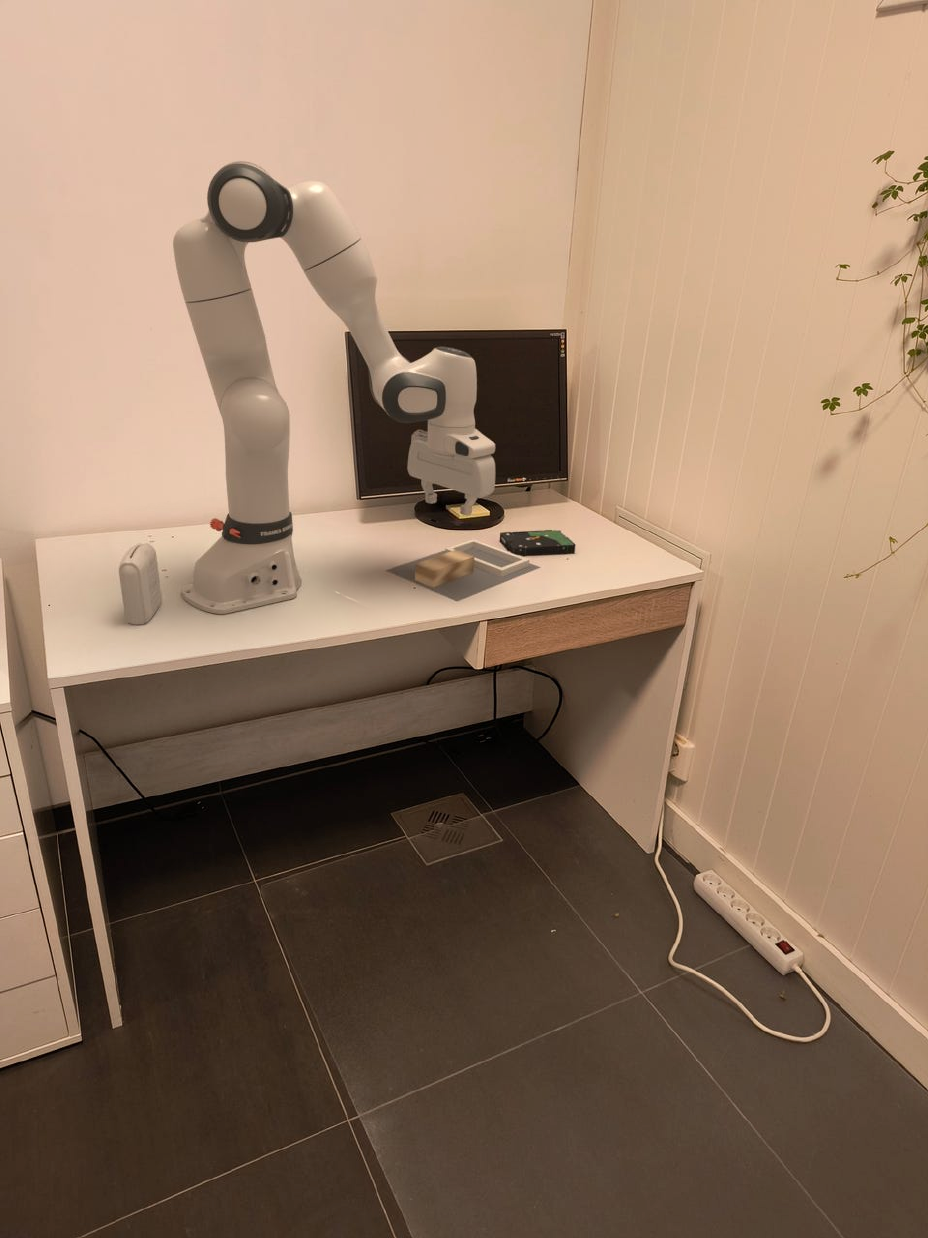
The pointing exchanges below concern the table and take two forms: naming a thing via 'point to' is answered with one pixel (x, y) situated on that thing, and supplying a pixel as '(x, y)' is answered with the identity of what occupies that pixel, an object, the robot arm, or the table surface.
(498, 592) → the table surface
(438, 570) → the tan wooden block
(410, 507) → the table surface
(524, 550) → the disk drive
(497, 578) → the mat
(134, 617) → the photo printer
